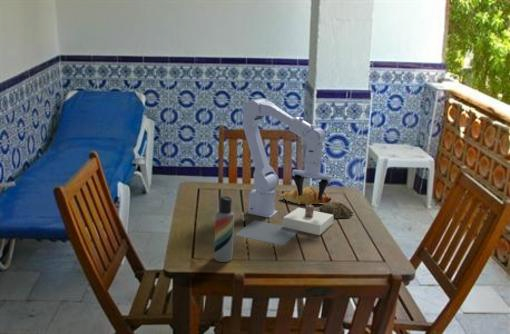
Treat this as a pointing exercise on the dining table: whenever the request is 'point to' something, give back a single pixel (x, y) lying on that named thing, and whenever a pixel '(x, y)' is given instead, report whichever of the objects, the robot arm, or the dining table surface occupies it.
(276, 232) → the mat
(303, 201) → the croissant
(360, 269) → the dining table surface
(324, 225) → the cover
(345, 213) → the bread roll
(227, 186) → the dining table surface
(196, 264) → the dining table surface
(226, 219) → the lotion bottle
